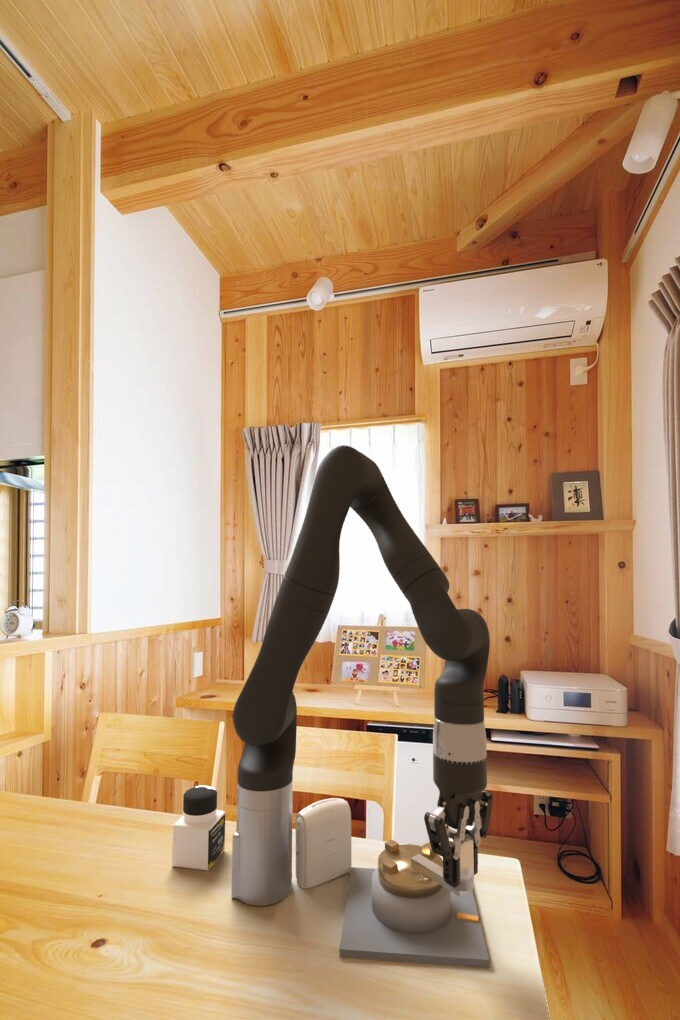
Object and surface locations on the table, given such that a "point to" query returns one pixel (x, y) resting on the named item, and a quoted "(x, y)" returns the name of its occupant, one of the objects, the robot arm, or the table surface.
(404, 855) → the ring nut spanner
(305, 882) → the photo printer
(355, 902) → the plate
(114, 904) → the table surface
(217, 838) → the medicine bottle
